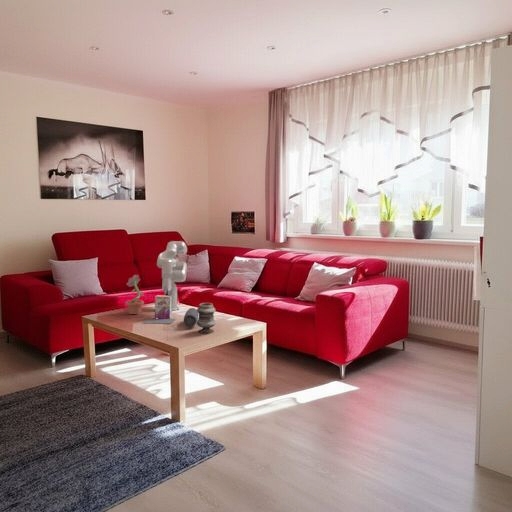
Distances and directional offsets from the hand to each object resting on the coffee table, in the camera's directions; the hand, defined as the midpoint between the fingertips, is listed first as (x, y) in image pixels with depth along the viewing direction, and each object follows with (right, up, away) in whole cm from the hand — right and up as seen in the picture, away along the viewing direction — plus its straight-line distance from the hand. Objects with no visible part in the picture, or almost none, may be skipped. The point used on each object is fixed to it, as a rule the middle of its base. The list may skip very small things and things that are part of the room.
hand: (167, 300), depth 340 cm
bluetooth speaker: (+22, -14, -30) cm, 40 cm away
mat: (-1, -13, -21) cm, 25 cm away
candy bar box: (-1, -12, -11) cm, 17 cm away
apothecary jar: (+35, -16, -48) cm, 61 cm away
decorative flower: (-25, -11, +3) cm, 27 cm away
